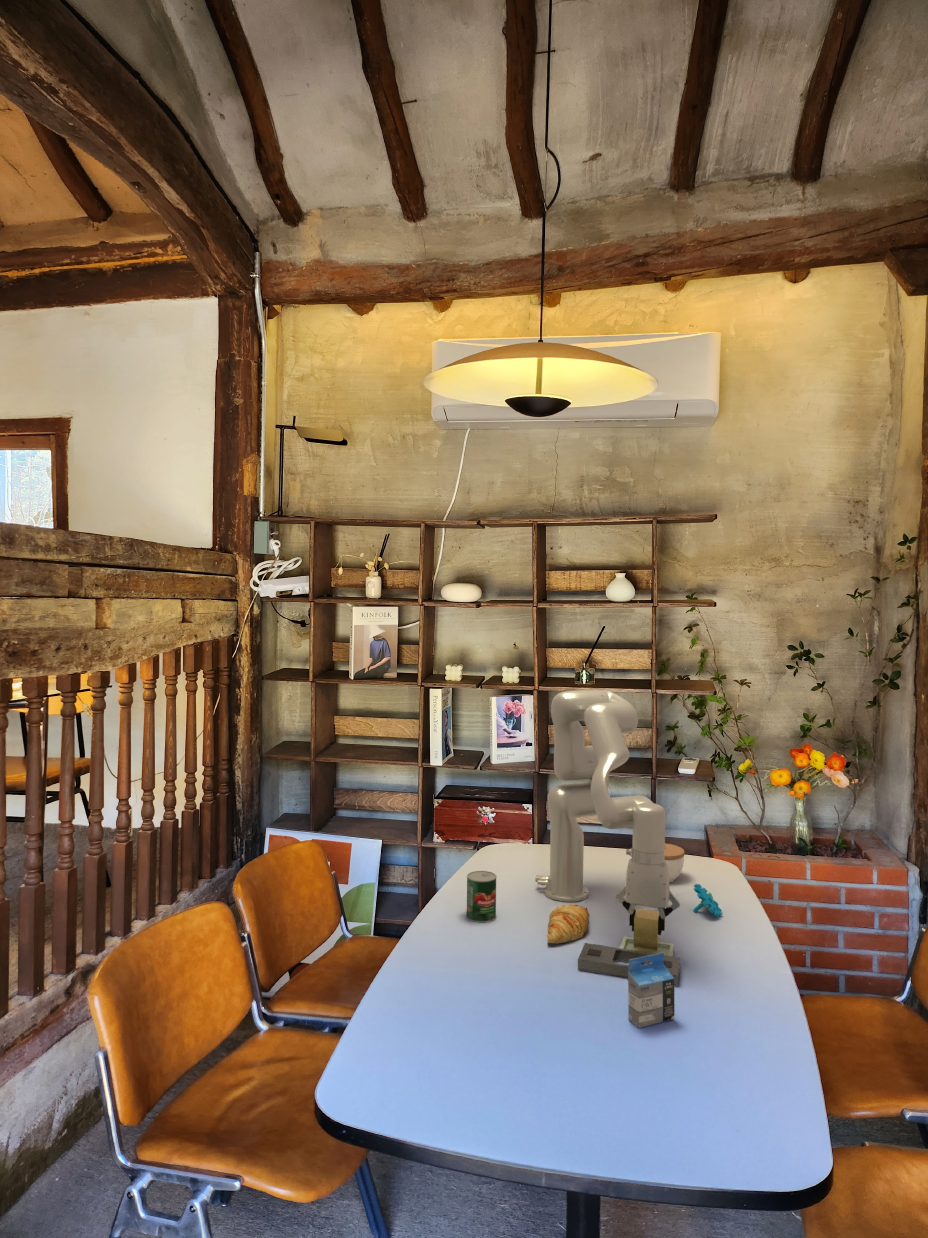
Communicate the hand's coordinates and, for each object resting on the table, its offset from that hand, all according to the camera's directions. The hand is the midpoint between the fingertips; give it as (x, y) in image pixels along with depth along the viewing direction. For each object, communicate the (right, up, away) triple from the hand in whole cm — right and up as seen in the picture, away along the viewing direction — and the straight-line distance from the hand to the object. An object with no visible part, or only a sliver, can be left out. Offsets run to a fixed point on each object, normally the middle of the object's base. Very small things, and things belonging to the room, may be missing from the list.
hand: (646, 930), depth 188 cm
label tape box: (-6, -6, -30) cm, 31 cm away
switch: (-6, -6, -8) cm, 11 cm away
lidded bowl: (+17, -5, +51) cm, 54 cm away
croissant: (-18, -6, +12) cm, 22 cm away
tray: (0, -6, 0) cm, 6 cm away
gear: (+22, -6, +25) cm, 34 cm away
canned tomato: (-39, -5, +21) cm, 45 cm away
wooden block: (0, -4, 0) cm, 4 cm away
